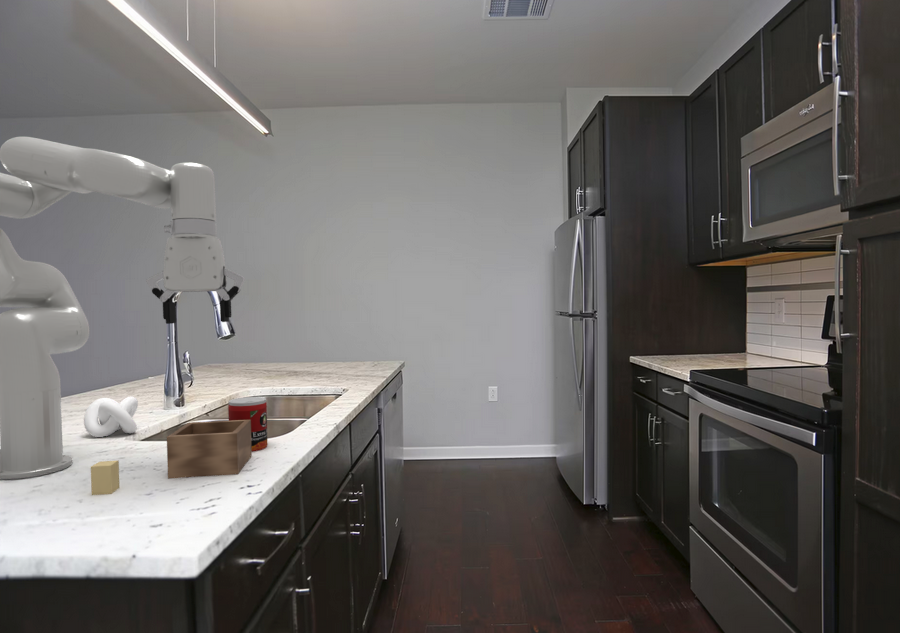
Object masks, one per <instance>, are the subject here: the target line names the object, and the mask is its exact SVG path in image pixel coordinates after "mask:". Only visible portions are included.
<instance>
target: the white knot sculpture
mask: <svg viewBox="0 0 900 633" xmlns="http://www.w3.org/2000/svg"><path fill="white" fill-rule="evenodd" d="M138 405H139V401H138V400H137V397H134V396H132V395H131V396H127V397H125V398H124V399H122V400H121V401H120V402H118V401H116V399H113V398H109V397H100V398H97V399H95V400H94V401H92V402H91V403H90V404H89V405H88V406H87V407H86V410H85V413H84V417H83V426H84V429H85V431H86V432H87V433H88V434H89V435H91V436H92V437H94V436H95V438H97V437H102V438H104V437H103V436H106V437H108V436H110V435H113V433H115V431H116V430H118V431H120V430H122V432H123V433H125V434H127V433H132V434H133V433H134V432H136V431H137V423H136V422H135V420H134V419H133V417H134V415H135V413H136V411H137V409H138ZM119 429H120V430H119ZM116 432H117V431H116Z"/></svg>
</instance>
